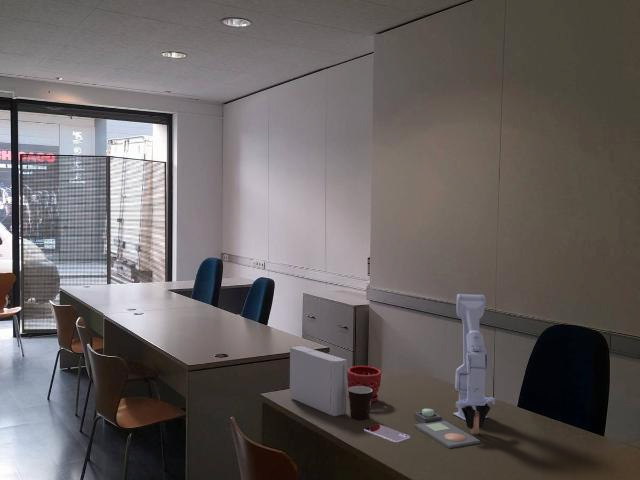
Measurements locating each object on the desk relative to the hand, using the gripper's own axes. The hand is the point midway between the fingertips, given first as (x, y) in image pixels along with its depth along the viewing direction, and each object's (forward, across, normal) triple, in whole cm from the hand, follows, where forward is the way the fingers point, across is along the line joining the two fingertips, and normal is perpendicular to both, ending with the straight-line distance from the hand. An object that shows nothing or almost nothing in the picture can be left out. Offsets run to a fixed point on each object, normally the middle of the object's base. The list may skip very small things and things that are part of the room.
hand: (474, 427), depth 206 cm
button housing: (+2, -8, +16) cm, 18 cm away
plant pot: (+2, -19, +44) cm, 48 cm away
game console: (+2, -39, +45) cm, 59 cm away
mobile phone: (+2, -28, +10) cm, 30 cm away
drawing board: (+2, -10, +2) cm, 10 cm away
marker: (+2, 0, 0) cm, 2 cm away
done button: (+2, -8, +16) cm, 18 cm away
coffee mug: (+2, -28, +28) cm, 40 cm away
